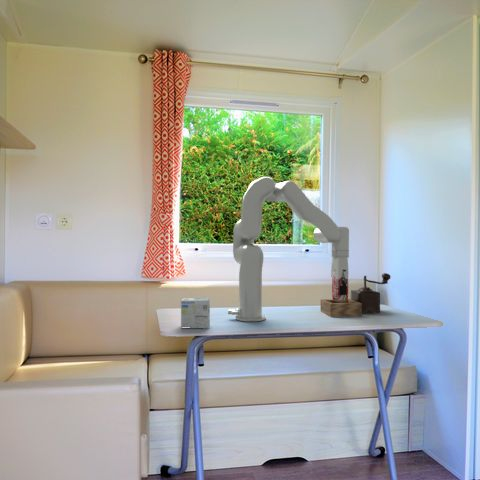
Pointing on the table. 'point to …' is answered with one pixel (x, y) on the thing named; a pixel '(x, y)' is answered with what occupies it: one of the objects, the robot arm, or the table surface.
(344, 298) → the soda can
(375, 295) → the manual coffee grinder
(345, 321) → the table surface
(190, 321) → the light bulb box
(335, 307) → the open wooden box
